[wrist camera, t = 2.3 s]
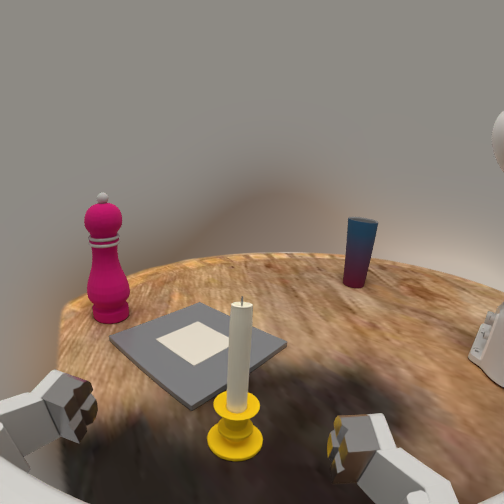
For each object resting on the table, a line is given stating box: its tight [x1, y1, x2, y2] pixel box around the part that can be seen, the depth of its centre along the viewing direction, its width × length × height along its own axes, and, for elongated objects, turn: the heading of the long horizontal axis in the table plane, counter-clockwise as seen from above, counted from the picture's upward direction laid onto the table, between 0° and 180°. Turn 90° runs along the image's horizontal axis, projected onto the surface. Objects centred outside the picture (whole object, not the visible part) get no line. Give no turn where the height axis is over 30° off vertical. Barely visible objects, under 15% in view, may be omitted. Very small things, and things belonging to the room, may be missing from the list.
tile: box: [109, 302, 287, 411], centre depth 40 cm, size 18×18×1 cm
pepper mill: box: [84, 193, 130, 324], centre depth 43 cm, size 7×7×20 cm
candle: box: [207, 296, 263, 461], centre depth 23 cm, size 5×5×16 cm
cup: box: [343, 217, 378, 288], centre depth 66 cm, size 7×7×15 cm
